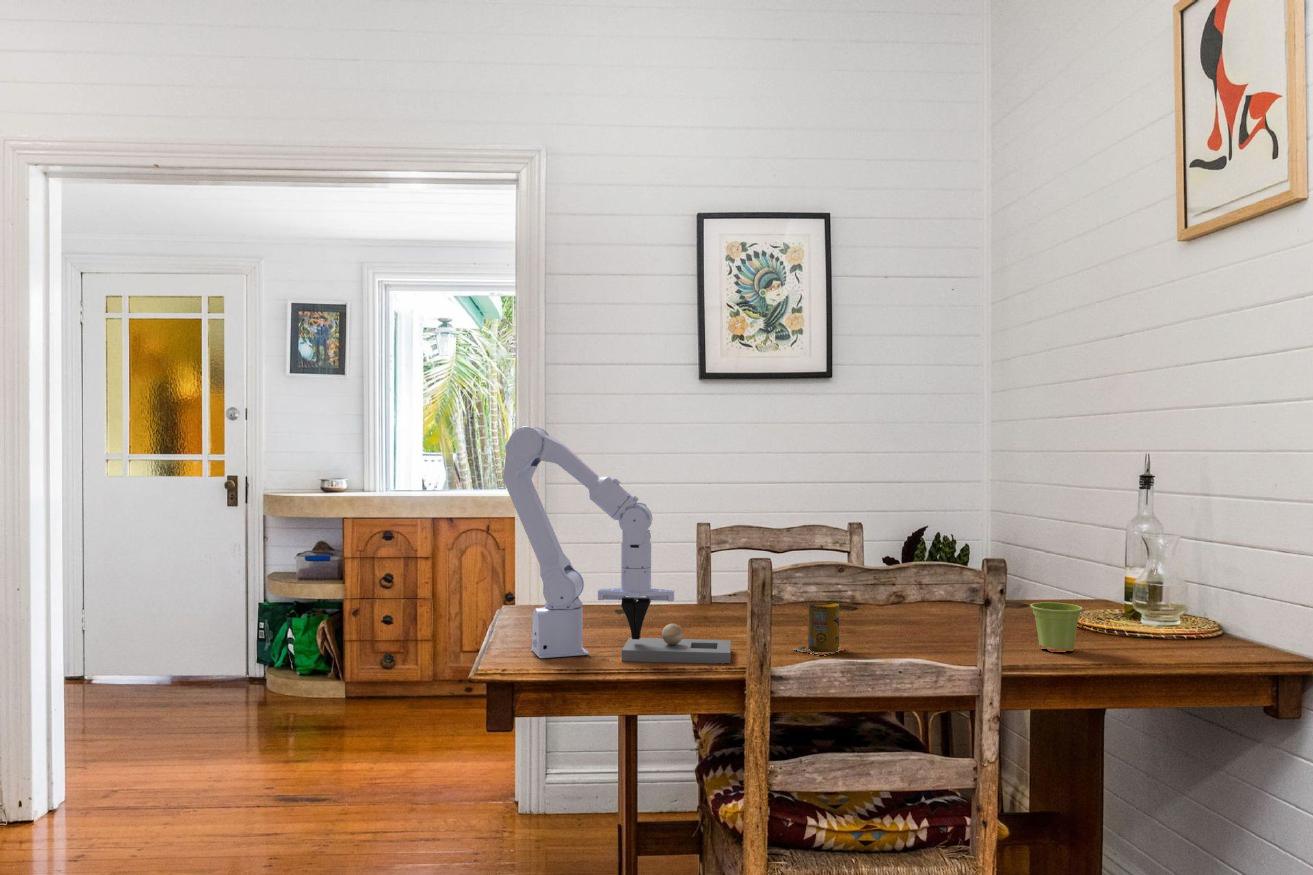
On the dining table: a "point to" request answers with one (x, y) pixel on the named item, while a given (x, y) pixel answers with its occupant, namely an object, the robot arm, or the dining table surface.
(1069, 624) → the plant pot
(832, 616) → the condiment
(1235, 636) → the dining table surface
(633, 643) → the board
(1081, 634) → the dining table surface
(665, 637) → the ball
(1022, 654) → the dining table surface
